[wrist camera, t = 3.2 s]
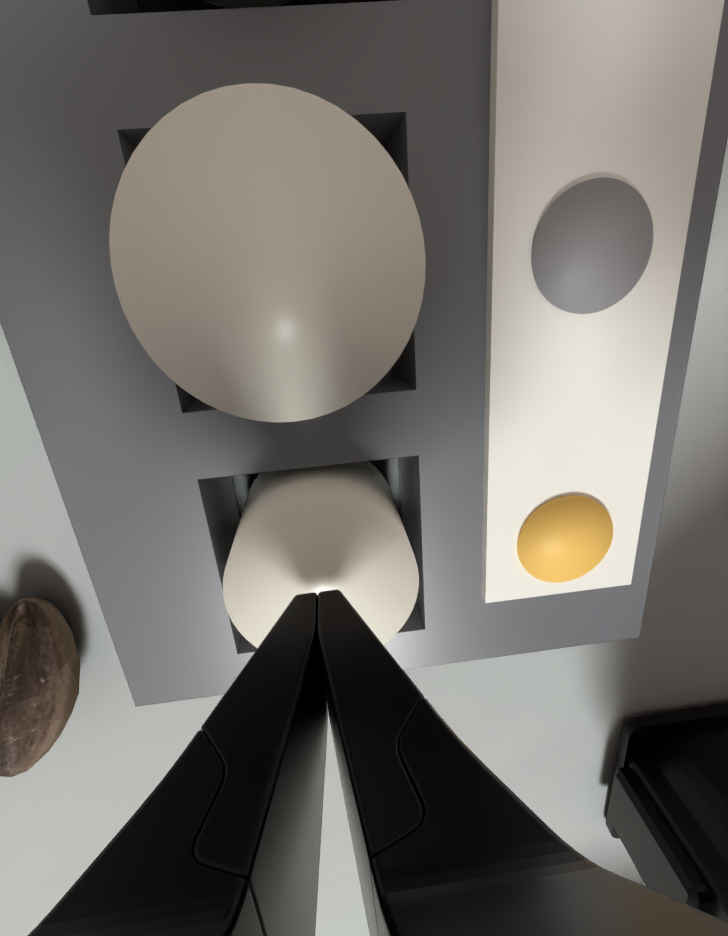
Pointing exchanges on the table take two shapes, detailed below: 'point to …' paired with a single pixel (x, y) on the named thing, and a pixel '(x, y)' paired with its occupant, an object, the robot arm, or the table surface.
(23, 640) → the brown mug
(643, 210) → the pattern card
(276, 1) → the button
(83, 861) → the table surface
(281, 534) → the button
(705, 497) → the table surface
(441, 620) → the button panel
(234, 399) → the button middle
